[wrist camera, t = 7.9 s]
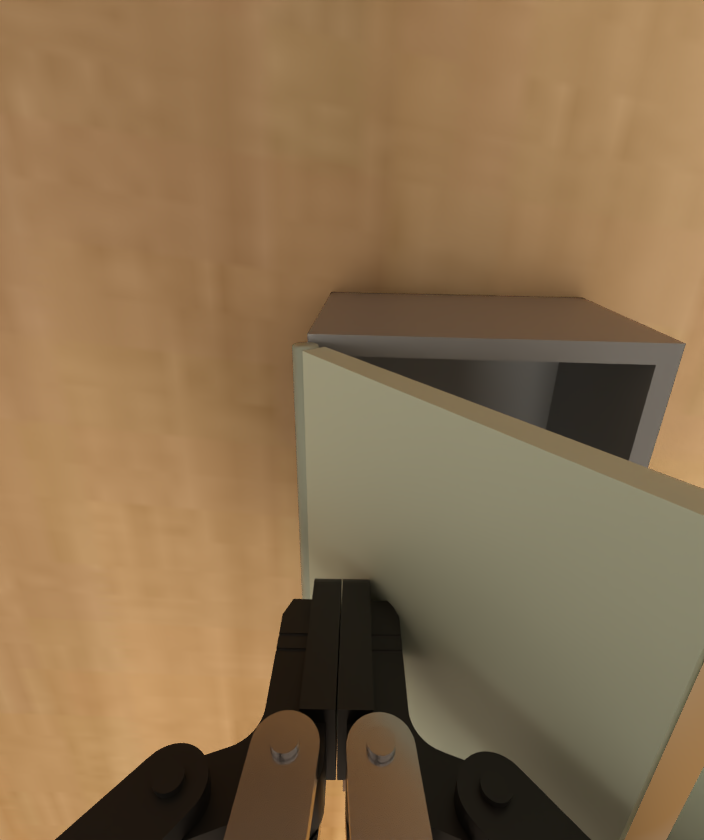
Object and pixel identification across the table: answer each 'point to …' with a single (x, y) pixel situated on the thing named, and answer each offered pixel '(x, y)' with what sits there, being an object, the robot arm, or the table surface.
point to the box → (519, 359)
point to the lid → (510, 580)
